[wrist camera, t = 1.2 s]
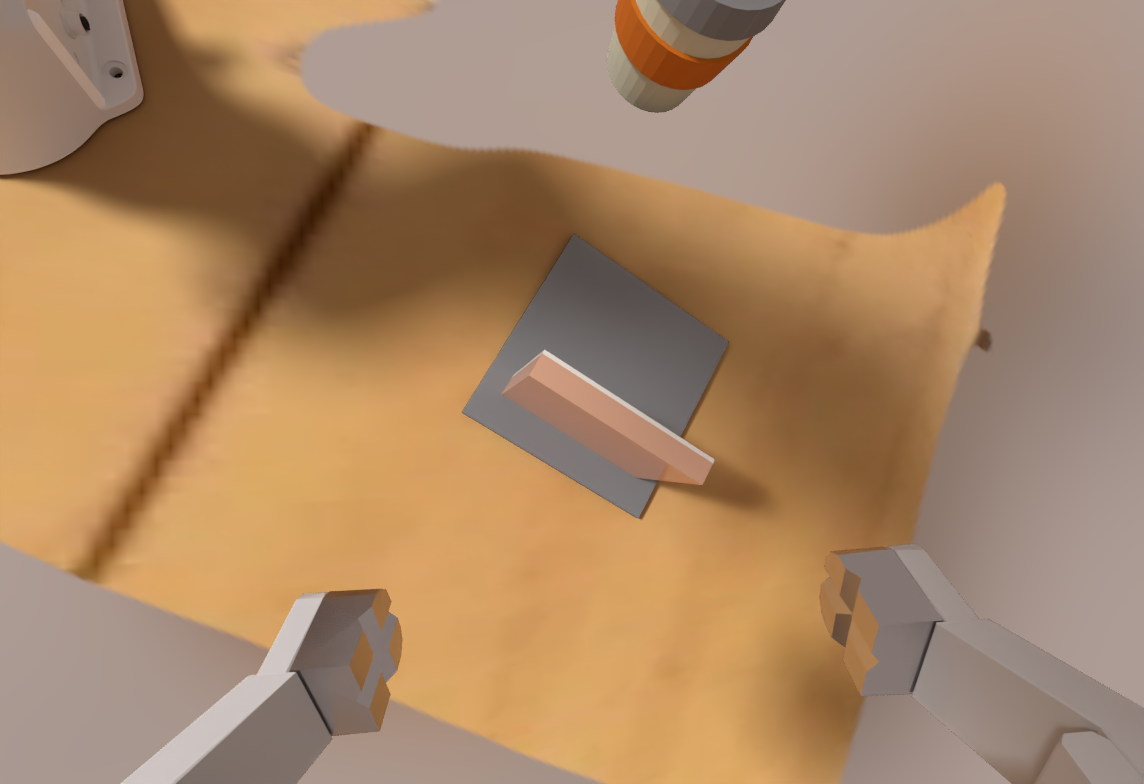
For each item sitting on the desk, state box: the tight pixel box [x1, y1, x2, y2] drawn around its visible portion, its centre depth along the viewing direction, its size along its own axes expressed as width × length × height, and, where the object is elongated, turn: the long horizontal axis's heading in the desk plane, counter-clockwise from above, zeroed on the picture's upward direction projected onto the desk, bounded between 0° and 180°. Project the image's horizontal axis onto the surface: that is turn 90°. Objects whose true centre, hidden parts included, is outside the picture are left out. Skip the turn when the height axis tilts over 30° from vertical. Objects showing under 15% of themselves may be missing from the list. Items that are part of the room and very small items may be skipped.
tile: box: [501, 350, 715, 485], centre depth 42 cm, size 2×14×12 cm, turn 59°
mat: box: [462, 234, 729, 518], centre depth 50 cm, size 19×18×1 cm
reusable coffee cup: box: [607, 0, 786, 113], centre depth 48 cm, size 12×13×15 cm
